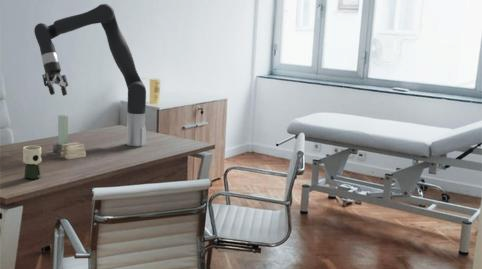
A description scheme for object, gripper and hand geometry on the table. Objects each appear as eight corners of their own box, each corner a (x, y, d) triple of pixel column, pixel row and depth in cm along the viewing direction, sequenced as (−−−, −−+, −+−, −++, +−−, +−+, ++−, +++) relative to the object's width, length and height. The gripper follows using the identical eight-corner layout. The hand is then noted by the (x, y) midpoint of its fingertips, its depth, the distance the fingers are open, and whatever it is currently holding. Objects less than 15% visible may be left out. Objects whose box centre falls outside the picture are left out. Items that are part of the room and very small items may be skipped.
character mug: (31, 182, 236) (31, 151, 234) (16, 180, 238) (16, 149, 236) (48, 175, 246) (47, 145, 244) (33, 173, 249) (33, 143, 246)
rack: (44, 153, 280) (44, 140, 279) (66, 150, 289) (66, 137, 288) (66, 161, 269) (66, 147, 268) (88, 158, 278) (88, 144, 277)
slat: (58, 151, 282) (58, 115, 278) (61, 151, 283) (61, 114, 279) (64, 154, 278) (64, 116, 275) (67, 153, 280) (68, 116, 276)
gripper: (46, 59, 280) (54, 91, 279) (66, 62, 293) (74, 93, 292) (34, 64, 283) (42, 96, 282) (55, 67, 296) (63, 97, 295)
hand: (58, 94), depth 287 cm, fingers open, 8 cm apart
